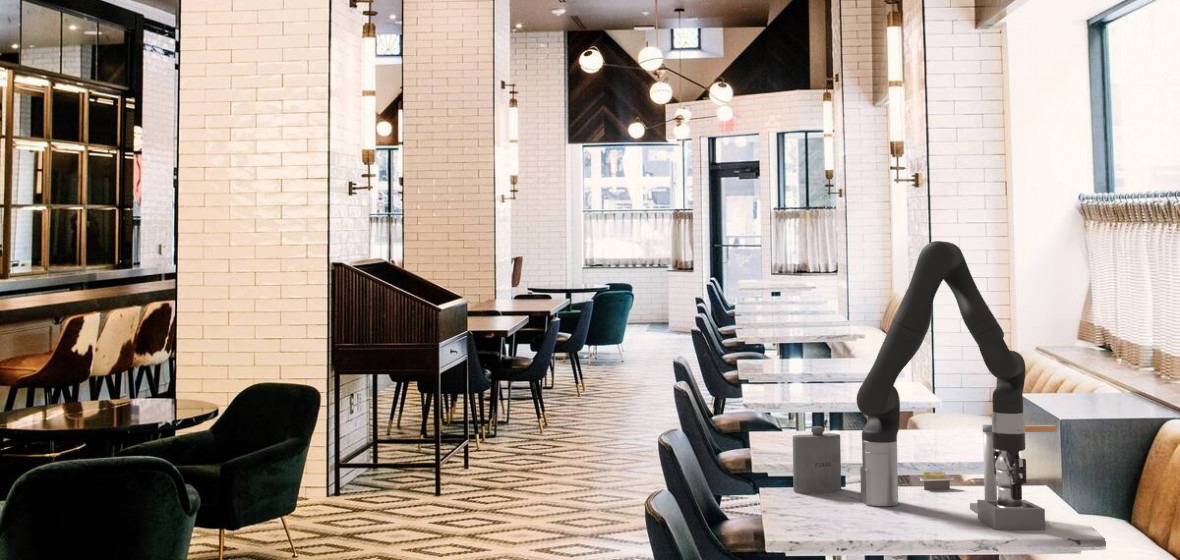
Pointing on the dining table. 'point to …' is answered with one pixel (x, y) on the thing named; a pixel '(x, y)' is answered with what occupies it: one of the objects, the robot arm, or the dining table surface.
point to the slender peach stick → (1028, 428)
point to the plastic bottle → (1005, 484)
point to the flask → (816, 462)
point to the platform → (936, 481)
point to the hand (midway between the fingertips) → (1010, 496)
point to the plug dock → (1004, 517)
